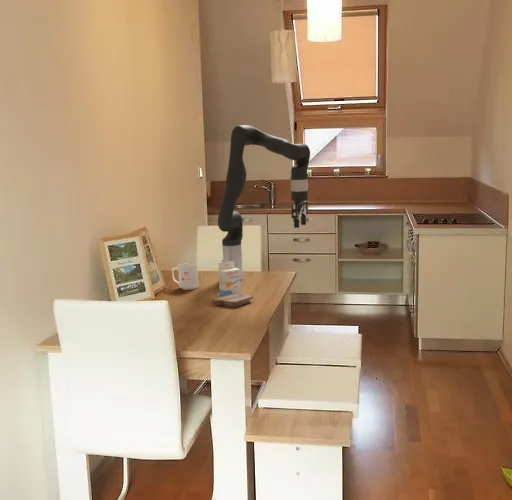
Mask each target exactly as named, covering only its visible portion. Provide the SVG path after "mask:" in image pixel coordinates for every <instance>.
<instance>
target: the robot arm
mask: <svg viewBox="0 0 512 500" xmlns="http://www.w3.org/2000/svg"><path fill="white" fill-rule="evenodd" d="M230 135H231V136H230V143H229V144H230V147H229V148H230V149H229V160H228V167H227V172H226V178H225V184H224V185H225V186H224V191H223V196H222V201H221V204H220V205H221V206H220V210H219V213H218V217H217V227H218V229H219V230H220V231H221V232H224V233H225V232H226V233H227V234H225V236H224V237H223V238H222V242H221V245H222V260H221V263H223V262H229V261H234V268H238V269H240V278H241V281H242V280H244V273H243V254H242V253H243V251H242V249H243V248H242V240H243V237H244V236H243V232H244V231H243V226H244V225H243V218H242V215H241V213H240V212H238V211H237V210H236V211H235V206H236V203H237V201H238V200H239V198H240V196H241V195H242V193H243V192H244V189H245V185H246V182H247V169H246V166H245V163H244V159H243V158H244V150H245V146H250V145H252V146H261V147H263V148H264V149H266V150H268V151H269V152H271V153H274V154H277V155H279V156H280V155H281V156H283V157H285V158H286V159H288V160H290V161H295V165H294V166H292V167H291V170H290V171H291V172H290V177H291V180H290V198H291V199H290V200H291V201H292V202H294V203H293V204H291V219H292V220H293V227H294V228H295V229H299V228H300V225H302V226H306V225H307V215H309V207H308V206H309V204H308V200H309V182H308V167H309V163H310V158H311V151H310V150H311V149H310V147H309V145H308V144H306V143H291V142H290V141H289V140H288V139H285V138H282V137H277V136H275V135H272V134H268V133H266V132H263V131H261V130H260V129H258V128H256V127H254V126H252V125H249V124H245V125H243V124H242V125H236V126H235V127H234V128H233V129H232V131H231V134H230ZM224 266H229V264H226V265H224Z"/></svg>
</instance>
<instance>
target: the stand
mask: <svg viewBox="0 0 512 500" xmlns="http://www.w3.org/2000/svg"><path fill="white" fill-rule="evenodd" d="M253 299H254V295H249V294H242V293H241V294H234V293H229V294H226V295H223V296H218V297H216V298H213V299H212V302H215V303H216V305H217V306H222V307H224V306H225V307H230V308H237V307H241V306H244V305H246V304H248V303H250V302H251V300H253Z"/></svg>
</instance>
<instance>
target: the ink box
mask: <svg viewBox="0 0 512 500" xmlns="http://www.w3.org/2000/svg"><path fill="white" fill-rule="evenodd" d="M226 264H229V266H224V265H226ZM218 285H219V297H221V296H223V295H226V294H229V293H234V294H242V280H241V278H240V269H238V268H234V261H229V262H223V263H222V262H219V263H218Z"/></svg>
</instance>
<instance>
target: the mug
mask: <svg viewBox="0 0 512 500" xmlns="http://www.w3.org/2000/svg"><path fill="white" fill-rule="evenodd" d="M174 270H177V271H178V280H176V278H175V275H174ZM198 272H199V271H198V263H195V262H194V263H193V262H186V263H184V262H183V263H180V264H178V265H177V267H174V268H171V273H172V274H171V275H172V280H173V282H175V283H176V284H178V286H179V288H180V289H181V290H184V291H189V290H196V289H197V288H198V287H199V274H198Z"/></svg>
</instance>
